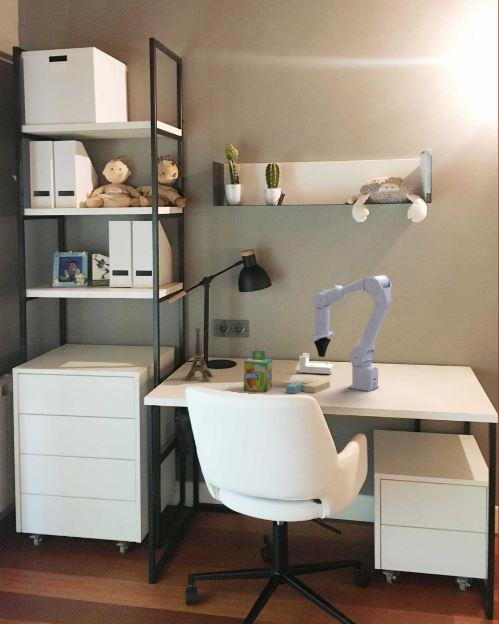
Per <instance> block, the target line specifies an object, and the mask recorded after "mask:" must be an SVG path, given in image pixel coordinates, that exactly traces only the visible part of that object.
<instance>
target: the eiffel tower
mask: <svg viewBox="0 0 499 624" xmlns="http://www.w3.org/2000/svg"><path fill="white" fill-rule="evenodd" d="M194 331H195V332H196V333H195V334H196V335H195V344H194V345H195V347H194V354H193V356H192V357H193V361H192V364H191V366H190V367H191V368H190V370H189V371H188V373H187V375H186V376H185V378H184V379H183V382H191V381H192V377H193V378H194V377H196V372H200V373H201V374H202V381H201V382H202V383H203V382H204V383H210V381H211V379H210V378H214V377H215V375H214V374H213V373H212V371H211V370H210V369H209V368H208V366H207V363H206V362H205V359H204V356H205V354H204V353H203V348H202V340H201V339H202V338H201V331H202V329H201V327H199V326H197V327H196V328H195V329H194ZM198 360H199V363H198Z"/></svg>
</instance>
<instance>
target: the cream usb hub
mask: <svg viewBox="0 0 499 624" xmlns="http://www.w3.org/2000/svg"><path fill="white" fill-rule="evenodd" d="M330 387H331V382H330V380H324V379H316V380H314V381H313V380H312V381H311V382H308V383H305V384H304V385H303V391H302V392H305V393H312V394H316V393H319V392H321V391H324V390H327V389H329V388H330Z"/></svg>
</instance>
